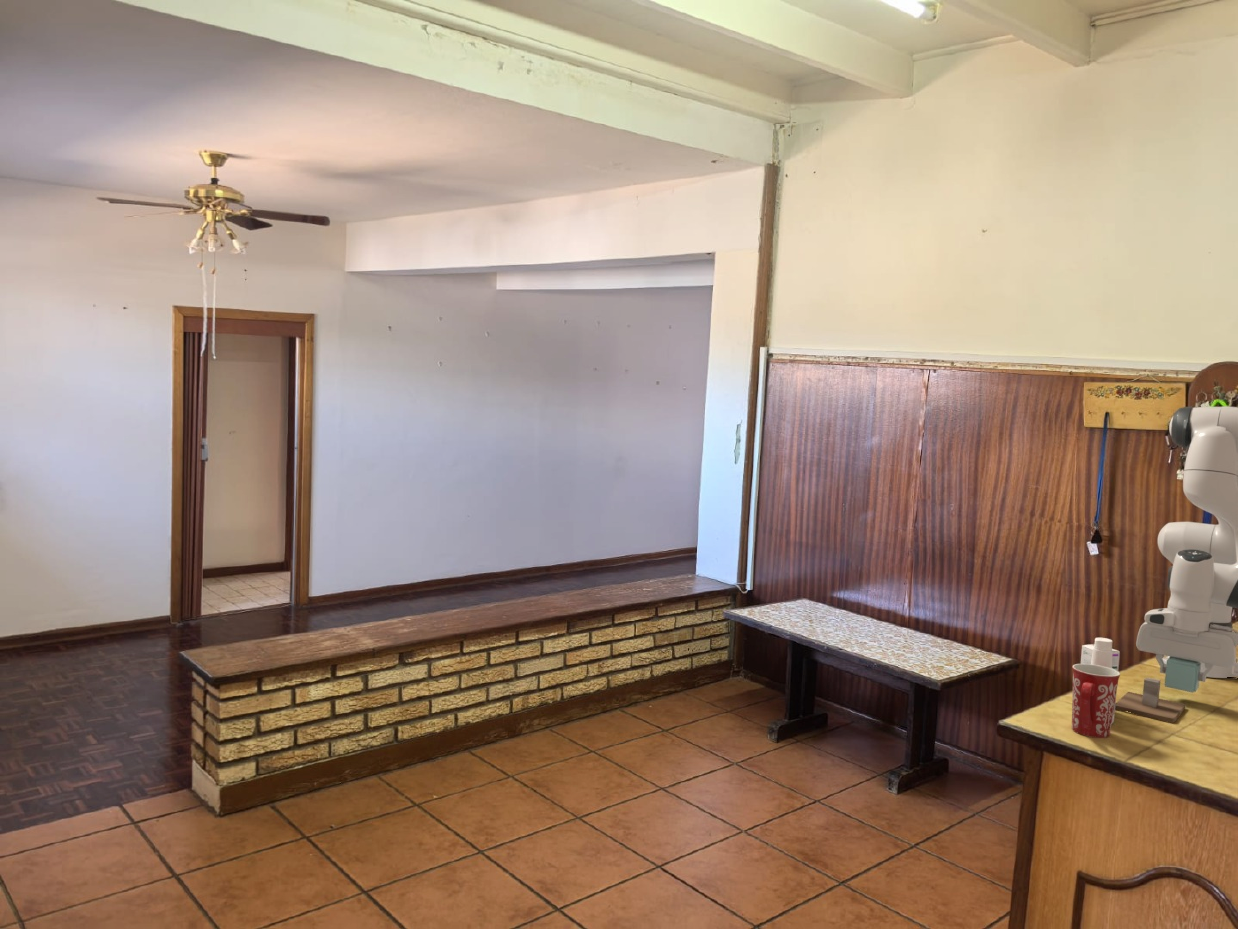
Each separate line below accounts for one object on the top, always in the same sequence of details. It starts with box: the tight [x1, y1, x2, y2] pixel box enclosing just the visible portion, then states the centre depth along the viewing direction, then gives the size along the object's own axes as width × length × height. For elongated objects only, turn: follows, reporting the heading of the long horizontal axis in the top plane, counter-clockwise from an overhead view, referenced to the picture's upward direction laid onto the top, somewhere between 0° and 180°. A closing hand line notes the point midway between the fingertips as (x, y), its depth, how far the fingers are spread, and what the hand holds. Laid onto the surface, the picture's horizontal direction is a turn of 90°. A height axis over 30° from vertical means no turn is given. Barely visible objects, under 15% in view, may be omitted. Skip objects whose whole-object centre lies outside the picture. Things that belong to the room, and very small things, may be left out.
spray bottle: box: [1091, 637, 1118, 725], centre depth 209 cm, size 7×7×18 cm
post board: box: [1115, 677, 1186, 724], centre depth 219 cm, size 14×12×7 cm
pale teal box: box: [1164, 656, 1201, 693], centre depth 226 cm, size 6×6×7 cm
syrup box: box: [1080, 643, 1121, 704], centre depth 216 cm, size 6×6×14 cm
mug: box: [1071, 663, 1121, 739], centre depth 200 cm, size 13×9×14 cm
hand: (1182, 677), depth 226 cm, fingers closed on pale teal box, 6 cm apart
